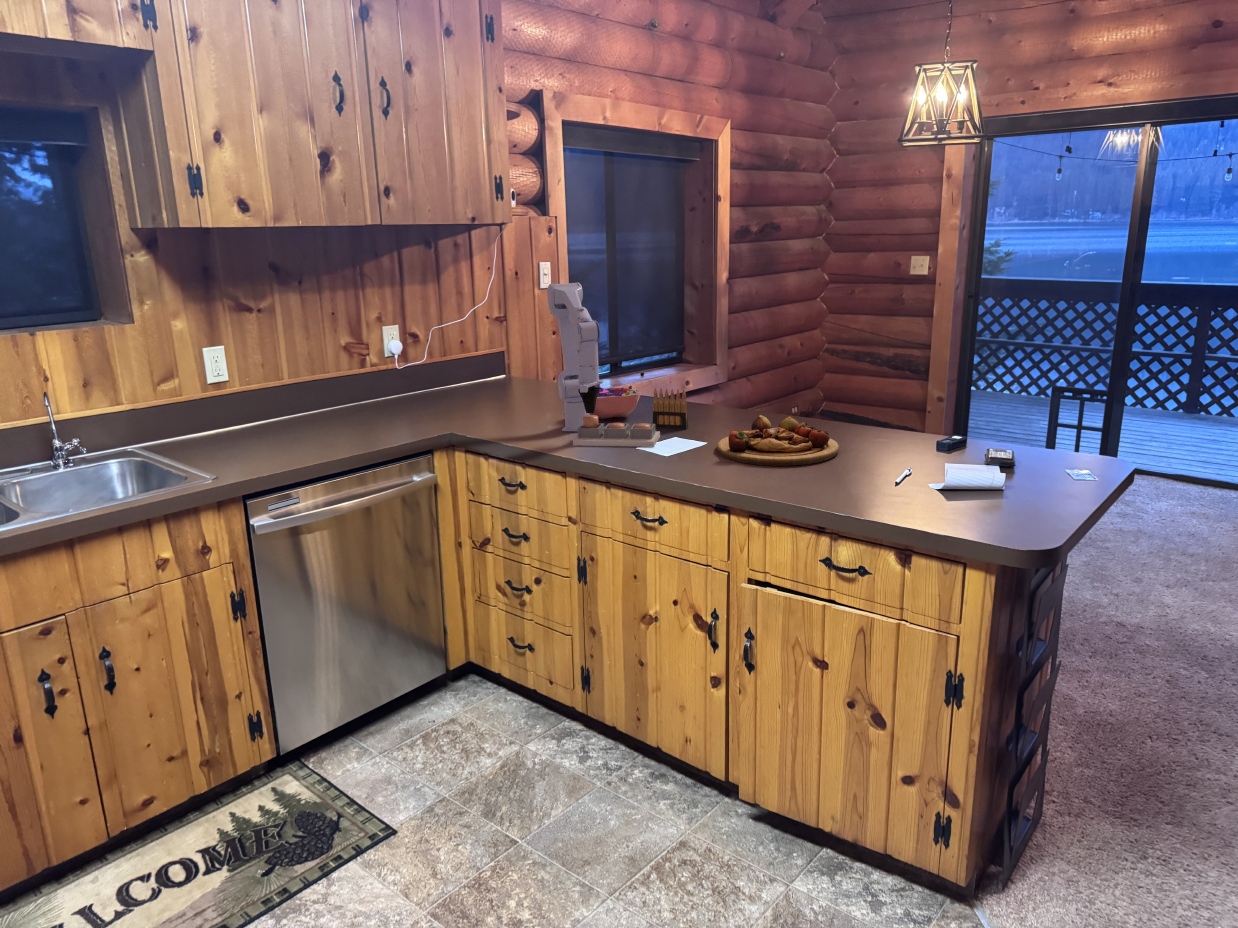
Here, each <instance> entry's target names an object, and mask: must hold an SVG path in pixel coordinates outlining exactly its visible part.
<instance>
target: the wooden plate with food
mask: <svg viewBox="0 0 1238 928" xmlns="http://www.w3.org/2000/svg"><path fill="white" fill-rule="evenodd" d="M716 450H717V452H718V453H719V455H720V456H722V457H724V458H726V459H729V460H730V461H735V462H739V463H744V464H750V465H758V466H775V467H776V466H779V467H780V466H781V467H782V466H783V467H784V466H785V467H786V466H801V465H804V466H805V465H810V464H818V463H821V462H824V461H828V460H830V459H832V458H834V457H836V456H837V455H838V453H839V451H840V445H839V444H838V442H837V441H836V440H834V439H832V438H830V435H829V432H828V431H827V430H824V431H823V430H821V429H818V428H817V429H816V427H815V426H808V422H803V421H802V422H801V423H799V421H798V420H797V419H795V418H793V417H791V416H787V417H786V418H784V419H783V420H781V421H780V422H779V423H778V426H777V427H772V424H771V421H770V420H769V419H768V418H767V417H766V416H764V415H762V414H760V415H758V416H757V417H756V418H755V419H754V420H753V421H752V424H751V430H741V431H737V430H732V431H731V432H730V433H729V434H728V436H726V437H724V438H722V439H721V440H719V441H718V442H717V445H716Z"/></svg>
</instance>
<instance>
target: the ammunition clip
mask: <svg viewBox="0 0 1238 928" xmlns="http://www.w3.org/2000/svg"><path fill="white" fill-rule="evenodd" d="M653 390H654V391H653V401H652V424H655V429H668V430H669V429H671V430H688V428H689V422H688V421H689V420H688V407H687V406H688V403H687V395H686V390H685V388H683V389H682V393H680V389H679V388H677V390H676V395H675V392H674V389H673V388H672V389H670V394H669V391H668V390H669V389H668V388H666V389H665V390H664V391H665V392H664V391H663V389H662V388H660V389H659V393H658V390H657V388H654V389H653ZM669 395H670V396H669Z"/></svg>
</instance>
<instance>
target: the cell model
mask: <svg viewBox="0 0 1238 928" xmlns="http://www.w3.org/2000/svg"><path fill="white" fill-rule="evenodd" d="M594 386H598V387H600V391H599V393H598V396H597V400H596V406H595V411H594V413H590V415H597V416H598V419H601V420H606V419H607V420H608V419H611V418H624V417H627V416H628V415H631V413H632V412H633V411H634V410H635V409H636V408H637V404H638V402H639V399H640V397H641V395H642V392H641V391H640V390H636V389H631V388H626V387H604V388H603V387H601V384H597V385H594Z"/></svg>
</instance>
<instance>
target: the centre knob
mask: <svg viewBox="0 0 1238 928" xmlns="http://www.w3.org/2000/svg"><path fill="white" fill-rule="evenodd" d="M624 424H625V423H623V422H611V423H610V424H609V428H624Z"/></svg>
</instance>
